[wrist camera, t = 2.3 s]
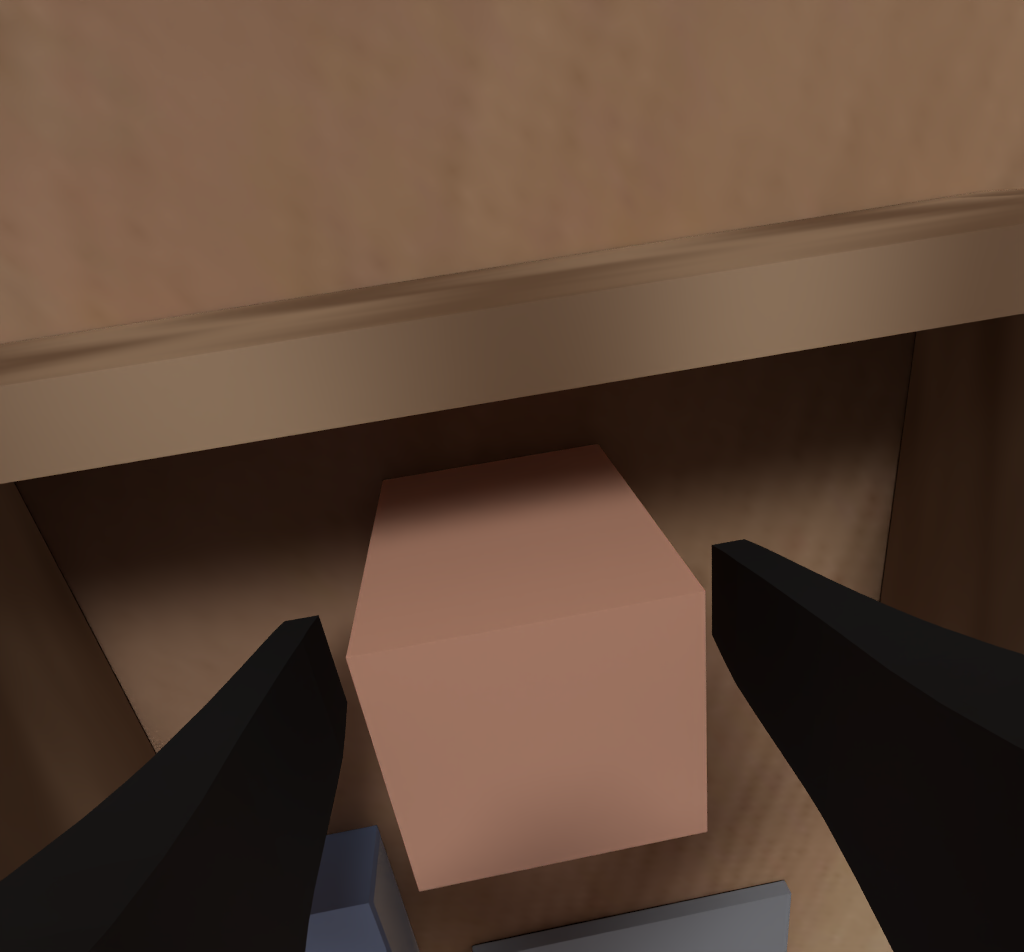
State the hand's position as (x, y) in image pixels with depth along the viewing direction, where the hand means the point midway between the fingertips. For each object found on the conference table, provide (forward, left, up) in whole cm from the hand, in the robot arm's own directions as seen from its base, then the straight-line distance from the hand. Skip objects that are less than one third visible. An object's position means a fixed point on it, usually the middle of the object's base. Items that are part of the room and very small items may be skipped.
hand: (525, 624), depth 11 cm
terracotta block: (0, 0, -3) cm, 3 cm away
